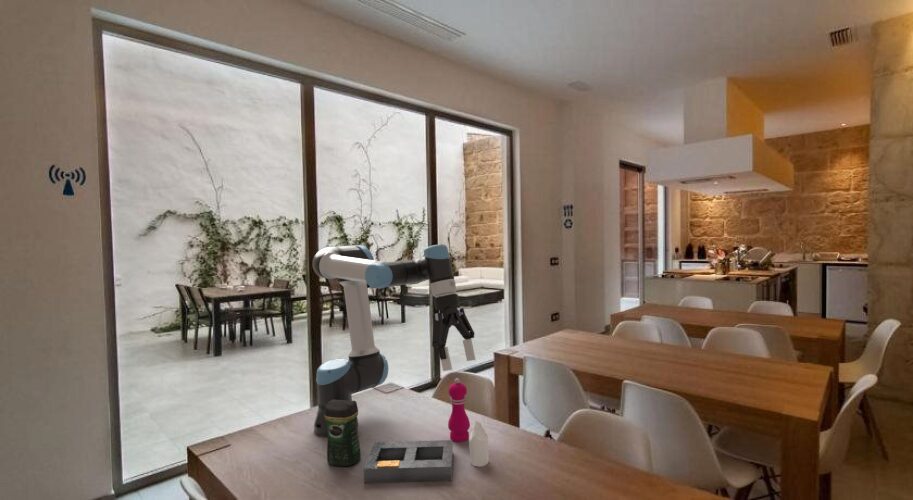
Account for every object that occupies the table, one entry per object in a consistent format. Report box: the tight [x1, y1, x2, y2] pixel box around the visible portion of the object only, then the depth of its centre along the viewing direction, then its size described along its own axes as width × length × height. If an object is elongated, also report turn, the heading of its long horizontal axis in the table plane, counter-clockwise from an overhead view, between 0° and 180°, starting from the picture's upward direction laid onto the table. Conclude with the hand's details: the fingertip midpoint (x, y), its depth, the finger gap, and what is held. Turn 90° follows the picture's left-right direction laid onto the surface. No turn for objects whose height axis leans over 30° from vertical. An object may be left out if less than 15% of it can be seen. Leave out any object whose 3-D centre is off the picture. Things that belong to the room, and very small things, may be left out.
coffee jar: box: [325, 399, 362, 467], centre depth 141 cm, size 10×8×19 cm
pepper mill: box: [447, 377, 471, 443], centre depth 153 cm, size 7×7×20 cm
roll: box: [468, 420, 490, 468], centre depth 137 cm, size 6×12×6 cm
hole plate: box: [363, 439, 454, 484], centre depth 136 cm, size 16×24×4 cm, turn 89°
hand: (460, 365), depth 139 cm, fingers open, 13 cm apart
